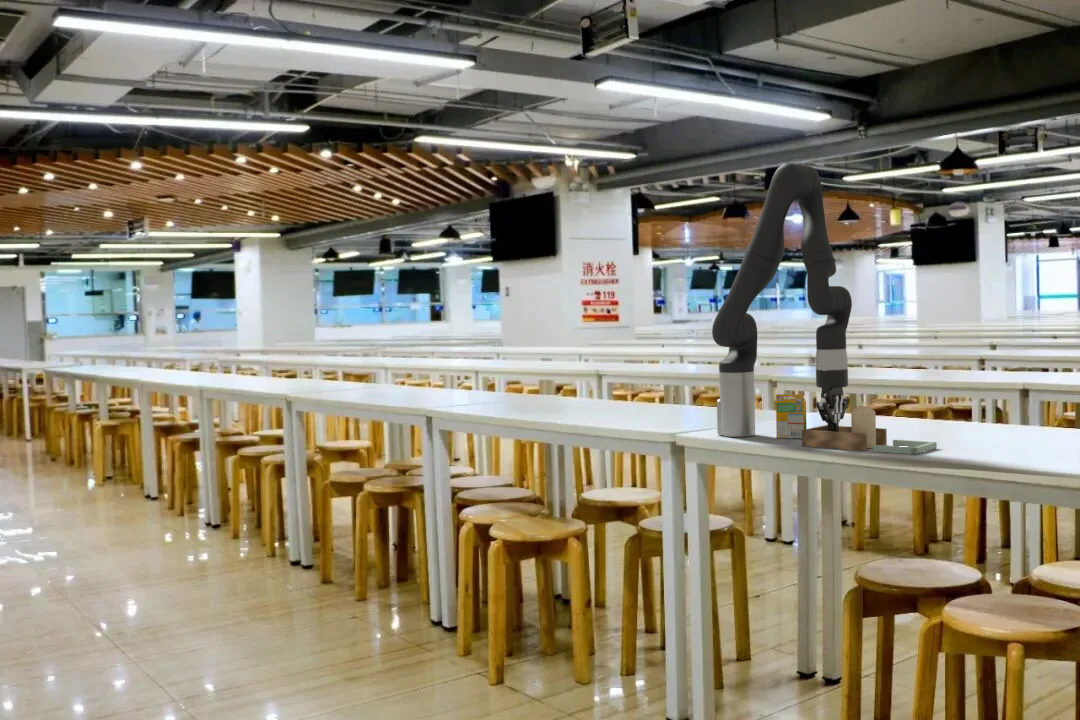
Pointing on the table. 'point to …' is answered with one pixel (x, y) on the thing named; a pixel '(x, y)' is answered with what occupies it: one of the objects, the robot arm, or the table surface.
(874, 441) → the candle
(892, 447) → the mint green u-bracket
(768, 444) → the table surface
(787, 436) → the crayon box
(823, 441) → the cubby
